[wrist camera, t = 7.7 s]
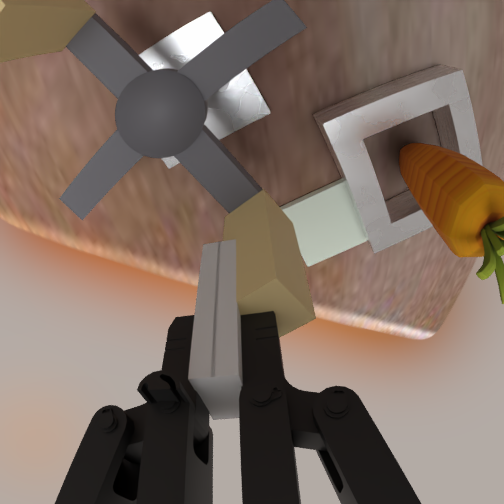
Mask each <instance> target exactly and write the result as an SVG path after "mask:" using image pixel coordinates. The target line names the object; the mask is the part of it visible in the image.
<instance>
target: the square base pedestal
mask: <svg viewBox="0 0 504 504" xmlns="http://www.w3.org/2000/svg"><path fill="white" fill-rule="evenodd" d="M223 34H224V32H223V30H222V29H221V27H220V26H219V24H218V22H217V21H216V19H215V18H214V16H213V15H212V13H211V12H208V13H206V14H204V15H203V16H201V17H199V18H197V19H195V20H194V21H192V22H190V23H188V24H187V25H185V26H183V27H181V28H180V29H178V30H176V31H175V32H173V33H172V34H170V35H168V36H167V37H165V38H164V39H162V40H160V41H159V42H157V43H156V44H154V45H153V46H151V47H150V48H148V49H147V50H145V51H144V52H142V53H141V54H140V55H139V56H140V57H141V58H142V59H143V60H144V61H145V62H146V63H147V64H148V65H149V66H150V67H151V68H152V69H153V70H157V69H163V68H172V69H177V70H179V69H181V68H182V67H183V66H184V65H185V64H186V63H188V62H189V61H190V60H191V59H192V58H194V57H195V56H196V55H197V54H198V53H200V52H201V51H202V50H203V49H205V48H206V47H207V46H208V45H210V44H211V43H212V42H214V41H215V40H216V39H218V38H219V37H220V36H221V35H223ZM207 103H208V113H207V118H206V121H205V125H206V126H207V127H208V129H209V130H210V131H211V132H212V133H213V134H214V135H215V136H216V137H217V138H218V140H220V139H222V138H224V137H226V136H227V135H229V134H231V133H233V132H235V131H237V130H239V129H241V128H243V127H244V126H246V125H248V124H250V123H252V122H254V121H256V120H258V119H260V118H262V117H264V116H266V115H268V114H270V113H271V112H270V110H269V108H268V106H267V104H266V103H265V101H264V99H263V97H262V95H261V94H260V92H259V90H258V88H257V87H256V85H255V83H254V81H253V80H252V78H251V76H250V75H249V73H248V71H247V69H245V70H244V71H242V72H241V73H240V74H238V75H237V76H236V77H234V78H233V79H232V80H231V81H229V82H228V83H227V84H225V85H224V86H223V87H222V88H220V89H219V90H218V91H217V92H215V93H214V94H213V95H212V96H210V97H209V98H208V99H207ZM162 160H163V161H164V162H165V164H166V165H167V167H168V168H169V169H170V168H171V167H173V166H175V165H176V164H178V163H180V162H179V161H178V160H177V159H176V158H175V157H174V156H171V157H167V158H162Z"/></svg>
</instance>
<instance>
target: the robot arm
mask: <svg viewBox="0 0 504 504" xmlns="http://www.w3.org/2000/svg"><path fill="white" fill-rule="evenodd" d="M137 390H138V392H139V393H140V394H141V395H142V397H143V398H144V399H145V400H146V401H147V403H145V404H143V405H140V406H137V407H134V408H131V409H128V410H125V411H123V410H122V409H121V408H119V407H117V406H113V405H108V406H105V407H102V408H101V409H99V410H98V411H97V412H96V413H95V415H94V416H93V418H92V420H91V422H90V424H89V426H88V428H87V431H86V433H85V435H84V437H83V439H82V441H81V444H80V446H79V448H78V450H77V452H76V455H75V457H74V459H73V462H72V464H71V466H70V468H69V471H68V473H67V475H66V478H65V480H64V483H63V485H62V487H61V490H60V493H59V495H58V497H57V500H56V502H55V504H213V503H212V502H213V494H212V493H213V491H212V490H213V489H212V488H213V486H212V485H213V478H212V477H213V433H212V429H211V428H210V426H209V414H210V415H211V417H212V419H213V420H216V419H229V418H240V447H241V476H242V498H243V499H242V500H243V504H301V500H300V491H299V483H298V475H297V466H296V459H295V450H294V447H300V448H306V449H313V450H316V451H317V453H318V456H319V458H320V460H321V462H322V464H323V466H324V468H325V471H326V472H327V475H328V477H329V479H330V481H331V483H332V485H333V487H334V489H335V492H336V494H337V496H338V498H339V500H340V502H341V504H421V502H420V501H419V499H418V497H417V495H416V494H415V492H414V490H413V488H412V487H411V485H410V483H409V481H408V480H407V478H406V476H405V475H404V473H403V471H402V469H401V468H400V466H399V464H398V462H397V461H396V459H395V458H394V455H393V454H392V452H391V450H390V449H389V447H388V445H387V443H386V442H385V440H384V439H383V437H382V435H381V433H380V432H379V430H378V428H377V426H376V425H375V423H374V422H373V420H372V418H371V416H370V415H369V413H368V411H367V410H366V408H365V406H364V405H363V403H362V401H361V400H360V398H359V396H358V395H357V394H356V393H355V392H354V391H353V390H351V389H349V388H347V387H342V386H334V387H329V388H326V389H325V390H323V391H322V392H320V393H316V392H308V391H302V390H298V389H297V388H295V387H293V386H292V385H290V384H289V383H288V382H287V380H286V379H285V376H284V369H283V362H282V354H281V347H280V340H279V333H278V327H277V321H276V315H275V313H274V311H268V312H261V313H253V314H246V315H240V312H239V308H238V304H237V302H236V239H233V240H227V241H221V242H215V243H209V244H203V251H202V259H201V266H200V274H199V282H198V290H197V298H196V308H195V315H191V316H183V317H176V318H175V319H174V321H173V322H172V324H171V325H170V327H169V329H168V335H167V342H166V347H165V353H164V359H163V365H162V371H156V372H153V373H151V374H149V375H147V376H146V377H145V378H144V379H143V380H142V381H141V382H140V384H139V386H138V389H137Z"/></svg>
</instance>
